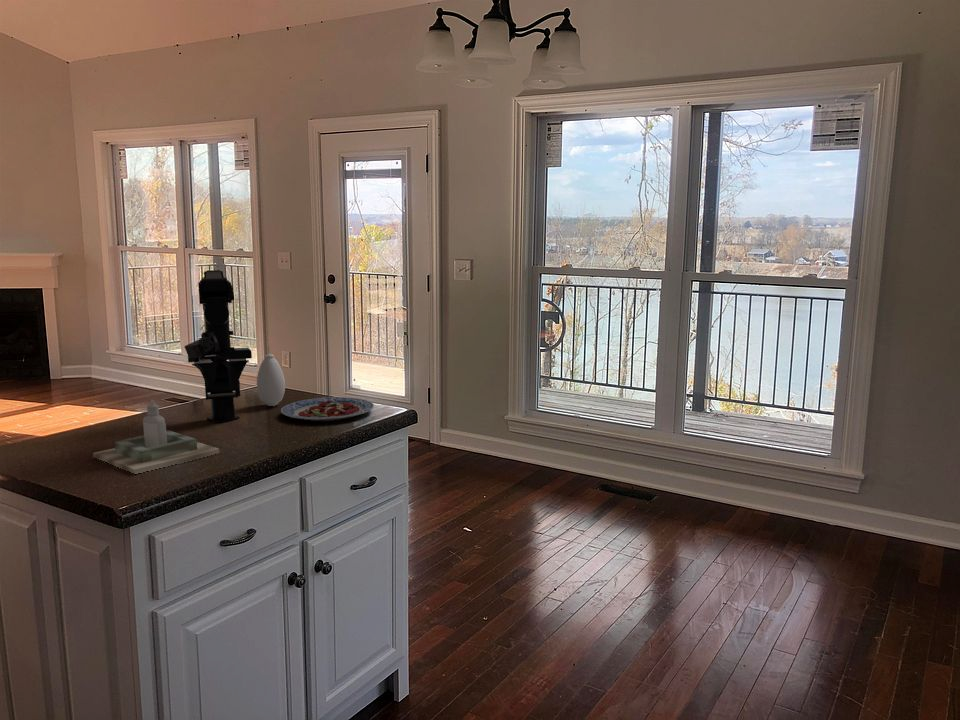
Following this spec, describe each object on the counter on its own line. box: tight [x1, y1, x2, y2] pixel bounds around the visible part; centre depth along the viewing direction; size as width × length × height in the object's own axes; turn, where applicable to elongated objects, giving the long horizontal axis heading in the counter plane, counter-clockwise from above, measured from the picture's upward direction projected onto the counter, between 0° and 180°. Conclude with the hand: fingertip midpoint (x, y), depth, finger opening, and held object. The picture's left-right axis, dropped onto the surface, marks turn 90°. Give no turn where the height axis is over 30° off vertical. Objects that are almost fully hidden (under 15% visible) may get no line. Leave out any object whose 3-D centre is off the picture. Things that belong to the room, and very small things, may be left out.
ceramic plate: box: [280, 396, 375, 422], centre depth 217 cm, size 26×26×3 cm
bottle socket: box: [93, 429, 220, 475], centre depth 178 cm, size 20×20×4 cm
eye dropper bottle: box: [142, 399, 167, 448], centre depth 177 cm, size 4×6×12 cm
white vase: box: [256, 345, 286, 407], centre depth 226 cm, size 8×8×18 cm
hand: (221, 389), depth 193 cm, fingers open, 9 cm apart
